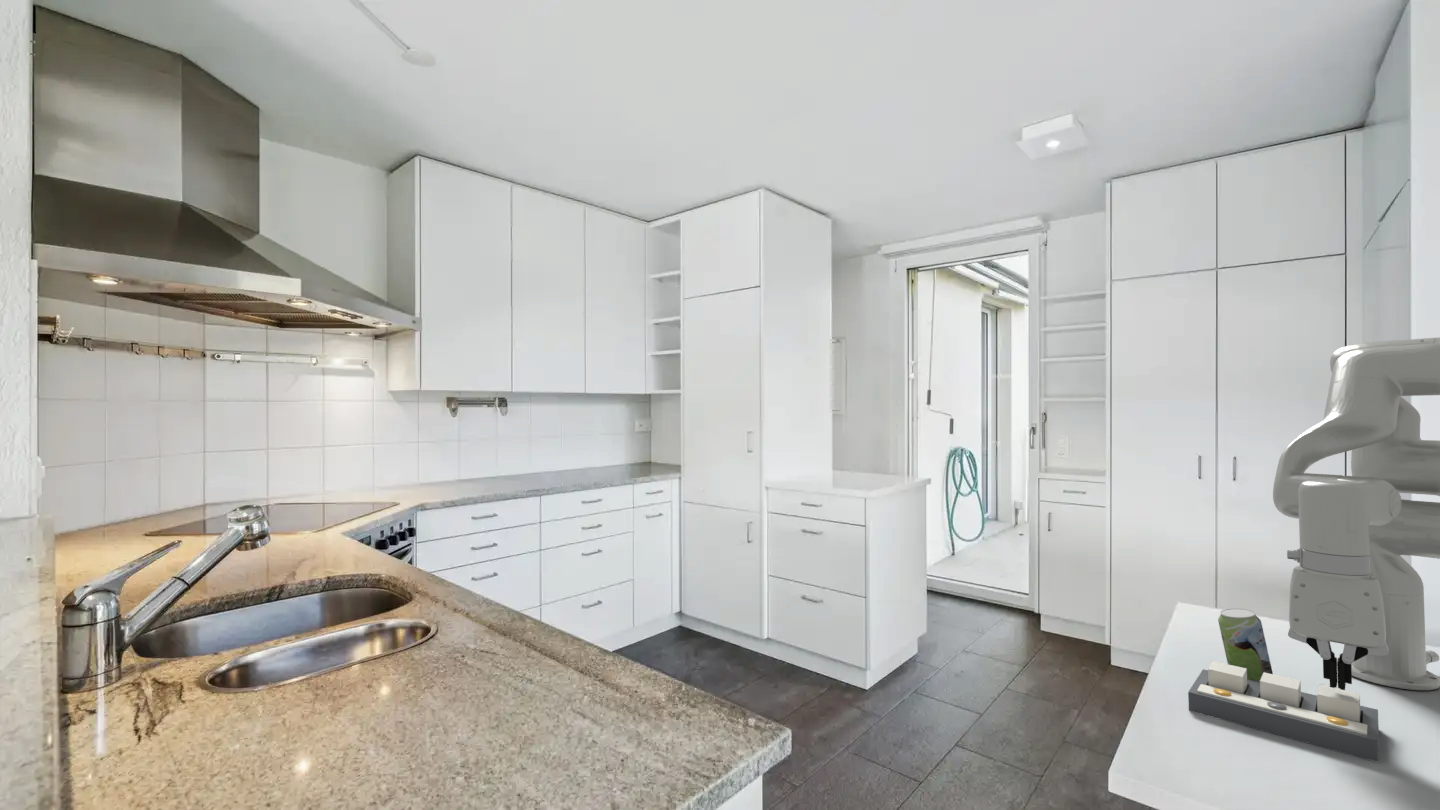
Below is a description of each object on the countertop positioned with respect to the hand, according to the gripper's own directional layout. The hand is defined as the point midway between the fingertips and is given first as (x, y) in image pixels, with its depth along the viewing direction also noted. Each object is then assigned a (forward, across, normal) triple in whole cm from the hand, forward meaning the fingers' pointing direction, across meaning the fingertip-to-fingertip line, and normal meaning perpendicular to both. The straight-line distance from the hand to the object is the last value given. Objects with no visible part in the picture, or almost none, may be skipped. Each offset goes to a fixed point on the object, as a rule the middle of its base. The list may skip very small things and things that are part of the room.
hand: (1337, 685), depth 93 cm
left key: (+4, -13, 0) cm, 14 cm away
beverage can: (+7, -12, +14) cm, 20 cm away
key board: (+7, -6, -1) cm, 10 cm away
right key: (+4, 0, 0) cm, 4 cm away
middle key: (+4, -7, 0) cm, 8 cm away
